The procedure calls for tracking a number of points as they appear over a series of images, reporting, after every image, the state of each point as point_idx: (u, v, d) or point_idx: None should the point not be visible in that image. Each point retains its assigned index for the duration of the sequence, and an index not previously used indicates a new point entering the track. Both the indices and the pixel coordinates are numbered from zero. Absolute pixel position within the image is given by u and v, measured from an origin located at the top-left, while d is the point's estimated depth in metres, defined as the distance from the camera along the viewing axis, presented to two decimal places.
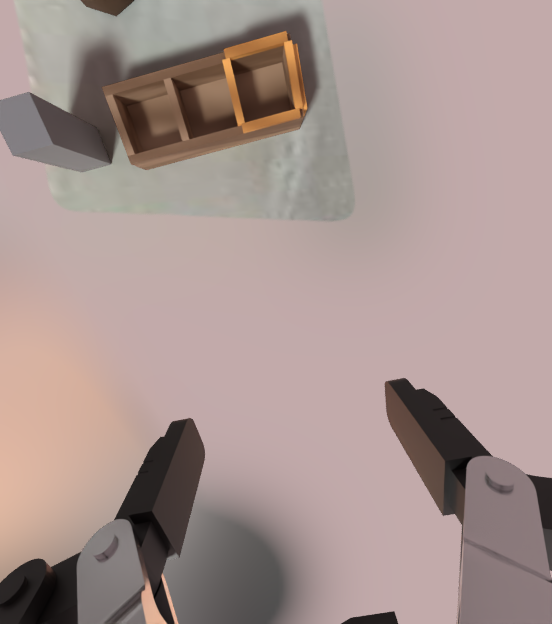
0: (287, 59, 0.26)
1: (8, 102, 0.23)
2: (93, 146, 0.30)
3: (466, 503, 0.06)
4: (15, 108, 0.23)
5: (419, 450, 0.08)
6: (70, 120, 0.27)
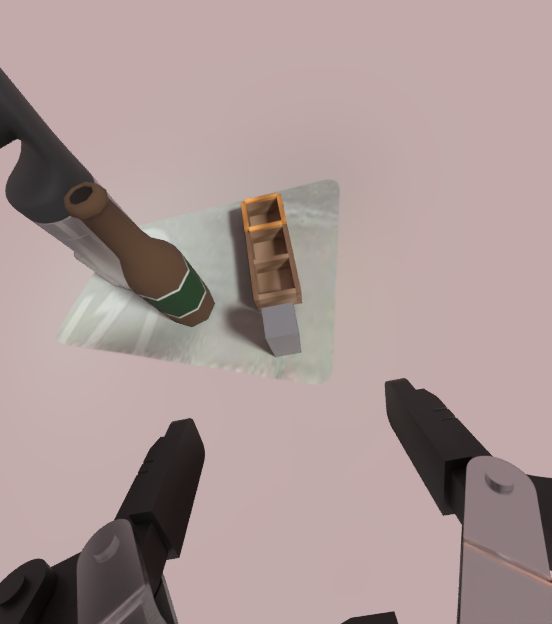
0: (252, 201, 0.46)
1: (265, 323, 0.31)
2: None
3: (466, 503, 0.06)
4: (269, 320, 0.31)
5: (419, 450, 0.08)
6: None
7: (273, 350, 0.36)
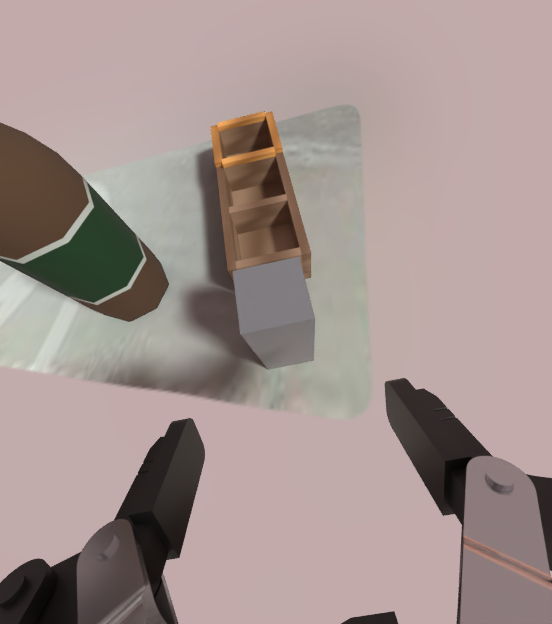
0: (229, 125, 0.29)
1: (241, 301, 0.14)
2: None
3: (466, 503, 0.06)
4: (249, 294, 0.15)
5: (419, 450, 0.08)
6: None
7: (262, 358, 0.19)
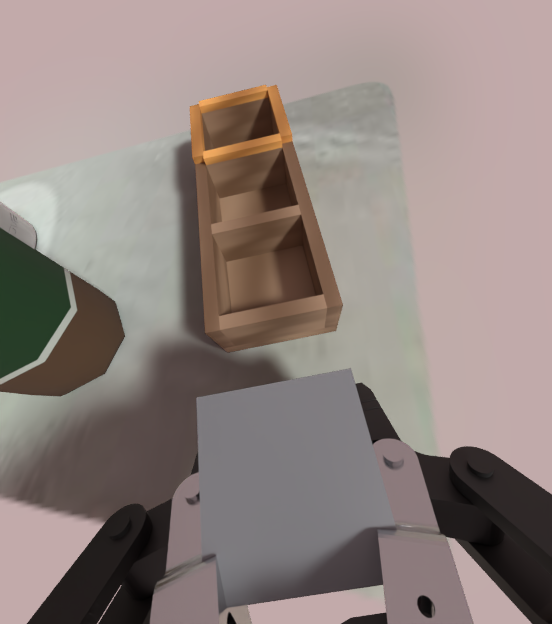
0: (215, 104, 0.21)
1: (212, 494, 0.06)
2: None
3: None
4: (233, 471, 0.06)
5: None
6: None
7: None
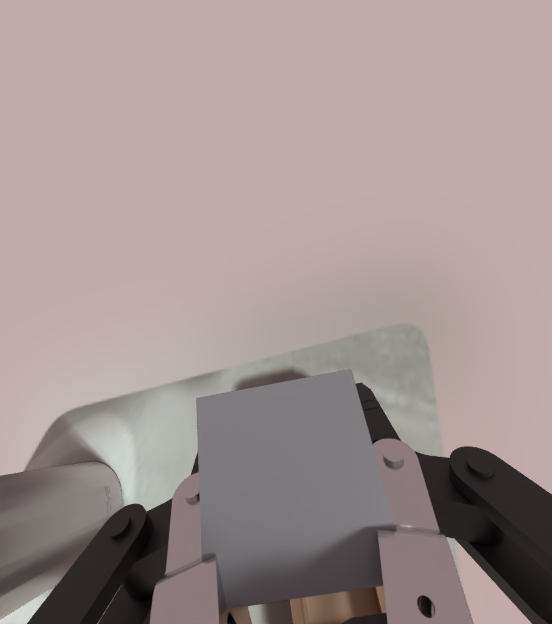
0: None
1: (212, 495, 0.06)
2: None
3: None
4: (233, 472, 0.06)
5: None
6: None
7: None
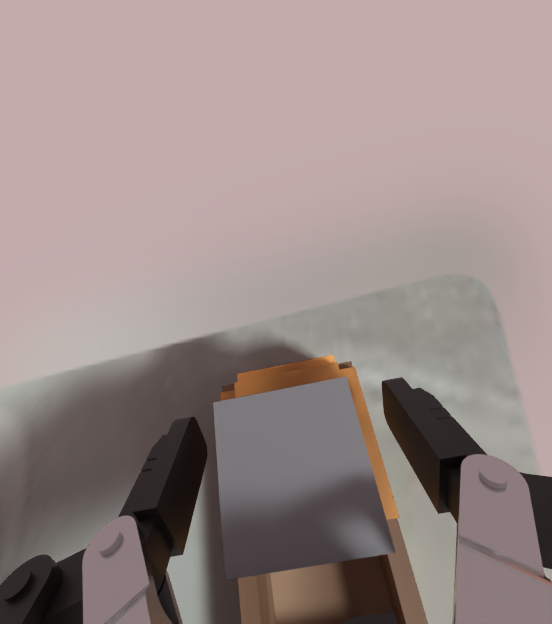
0: (260, 391, 0.14)
1: (229, 485, 0.07)
2: None
3: (461, 501, 0.06)
4: (247, 465, 0.07)
5: (415, 449, 0.08)
6: None
7: None
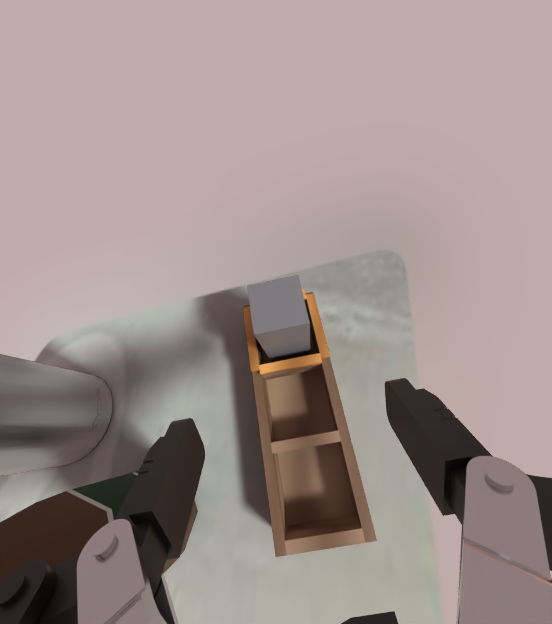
0: None
1: (254, 310, 0.19)
2: None
3: (466, 503, 0.06)
4: (260, 304, 0.19)
5: (419, 450, 0.08)
6: None
7: (268, 353, 0.23)
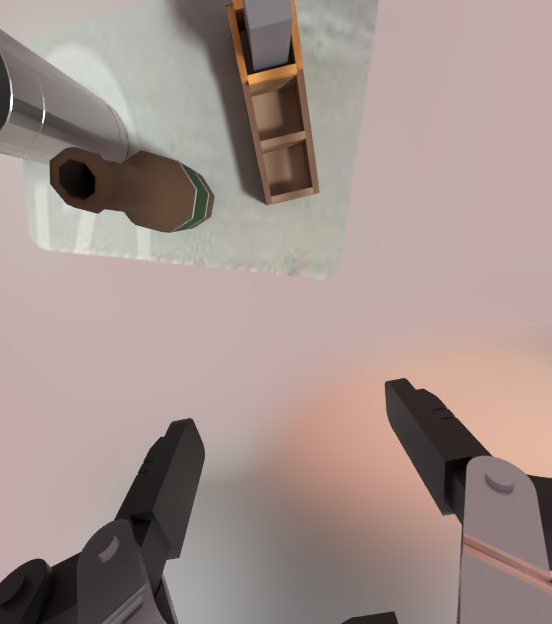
0: None
1: (247, 1, 0.23)
2: None
3: (466, 503, 0.06)
4: None
5: (419, 450, 0.08)
6: None
7: (254, 63, 0.29)
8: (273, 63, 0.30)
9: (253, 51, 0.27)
